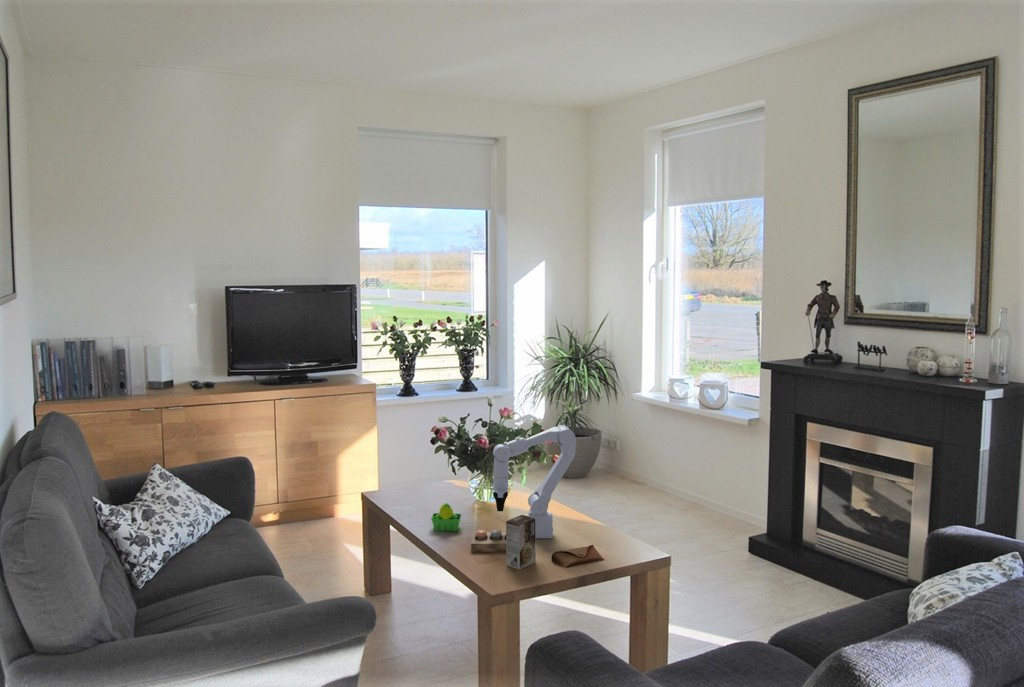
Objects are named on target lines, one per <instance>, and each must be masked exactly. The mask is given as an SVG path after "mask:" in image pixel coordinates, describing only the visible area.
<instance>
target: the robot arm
mask: <svg viewBox="0 0 1024 687" xmlns="http://www.w3.org/2000/svg"><path fill="white" fill-rule="evenodd" d="M545 442H553V443H558V444H559V448H560V451H561V452H560V454H559V455H558V458H556V460H555V463H554V464H553V465H552V467H551V469H550V470H549V472H548V474H547V475H546V476H545V479H544V480H543V482H542V484H540V486H539V487H537V488H536V489H535V491H534V492H533V493H532V494H530V495H529V496H528V500H527V503H528V505H529V507H530V508H529V510H528V516H529V517H531V518H535V539H553V536H554V534H553V533H554V527H553V521H554V518H553V512H548V509H549V504H550V502H551V500H552V494H553V493H554V491H555V489H556V488H557V486H558V485H559V482H560V481H561V480H562V478H563V476H564V475H565V473H566V471H567V470H568V468H569V467H570V465H571V463H572V462H573V460H574V459H575V457H576V450H577V449H576V447H577V444H576V443H577V438H576V436H575V432H574V431H573V430H572V429H570V428H569V426H567V425H565V424H560V425H558V426H553V427H550V428H549V429H546V430H544V431H541V432H539V433H536V434H534V435H533V436H530V437H527V438H525V437H519V436H517V437H515V439H512V440H511V441H508V442H507V441H505V442H503V443H499V444H497V445H495V446H494V448H493V450H492V454H493V475H492V478H493V480H492V481H493V482H492V483H493V484H492V485H493V486H490V488H489V489H490V490H491V491H493V492H492V493H493V494H492V495H493V498H494V500H495V501H494V502H495V505H496V510H497V512H504V510H505V503H506V500H507V499H508V495H509V492H508V491H509V490H510V489H509V488H510V487H509V459H510V457H511V458H512V457H515V456H518V455H521V454H523V453H527V451H528V450H529V448H531V447H534V446H537V445H540V444H542V443H545Z"/></svg>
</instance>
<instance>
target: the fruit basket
mask: <svg viewBox="0 0 1024 687" xmlns="http://www.w3.org/2000/svg"><path fill="white" fill-rule="evenodd" d="M461 517H462V514H461V513H454V509H453V508H452V506H451V505H450V504H449V503H448V502H445V503H444V504H442V505H441V507H440V508H439V513H438V512H436V513H435V512H434V513H432V516H431V518H430V519H431V522H432V526H433V530H434V531H440V532H441V531H452V532H453V531H454V532H457V531H458V529H459V525H460V521H461Z"/></svg>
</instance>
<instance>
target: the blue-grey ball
mask: <svg viewBox="0 0 1024 687" xmlns="http://www.w3.org/2000/svg"><path fill="white" fill-rule="evenodd" d="M490 532H491V537H492V540H500V537H501V532H502V530H500V529H492V530H491V531H490Z"/></svg>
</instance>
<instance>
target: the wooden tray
mask: <svg viewBox="0 0 1024 687" xmlns="http://www.w3.org/2000/svg"><path fill="white" fill-rule="evenodd" d="M470 547H471V548H470V551H471V553H472V552H475V553H476V552H478V553H479V552H483V553H484V552H496V553H497V552H506V536H505V531H501V537H500V540H492V537H491V531H487V537H485V540H478V538H477V537H476V531H472V534H471V542H470Z"/></svg>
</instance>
